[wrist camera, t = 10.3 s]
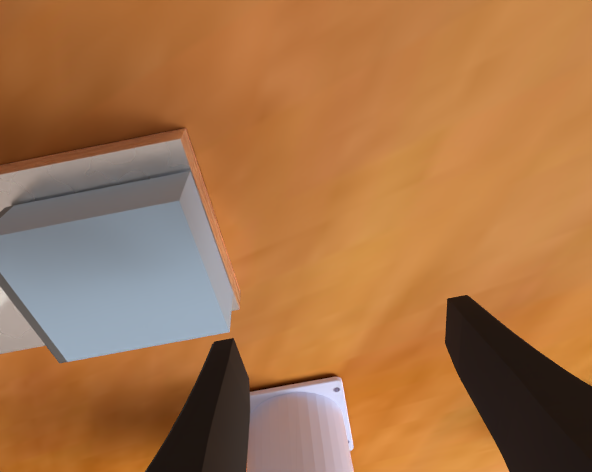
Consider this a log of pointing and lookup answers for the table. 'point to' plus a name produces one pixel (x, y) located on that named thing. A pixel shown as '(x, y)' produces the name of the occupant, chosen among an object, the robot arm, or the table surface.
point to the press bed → (90, 176)
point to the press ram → (115, 268)
